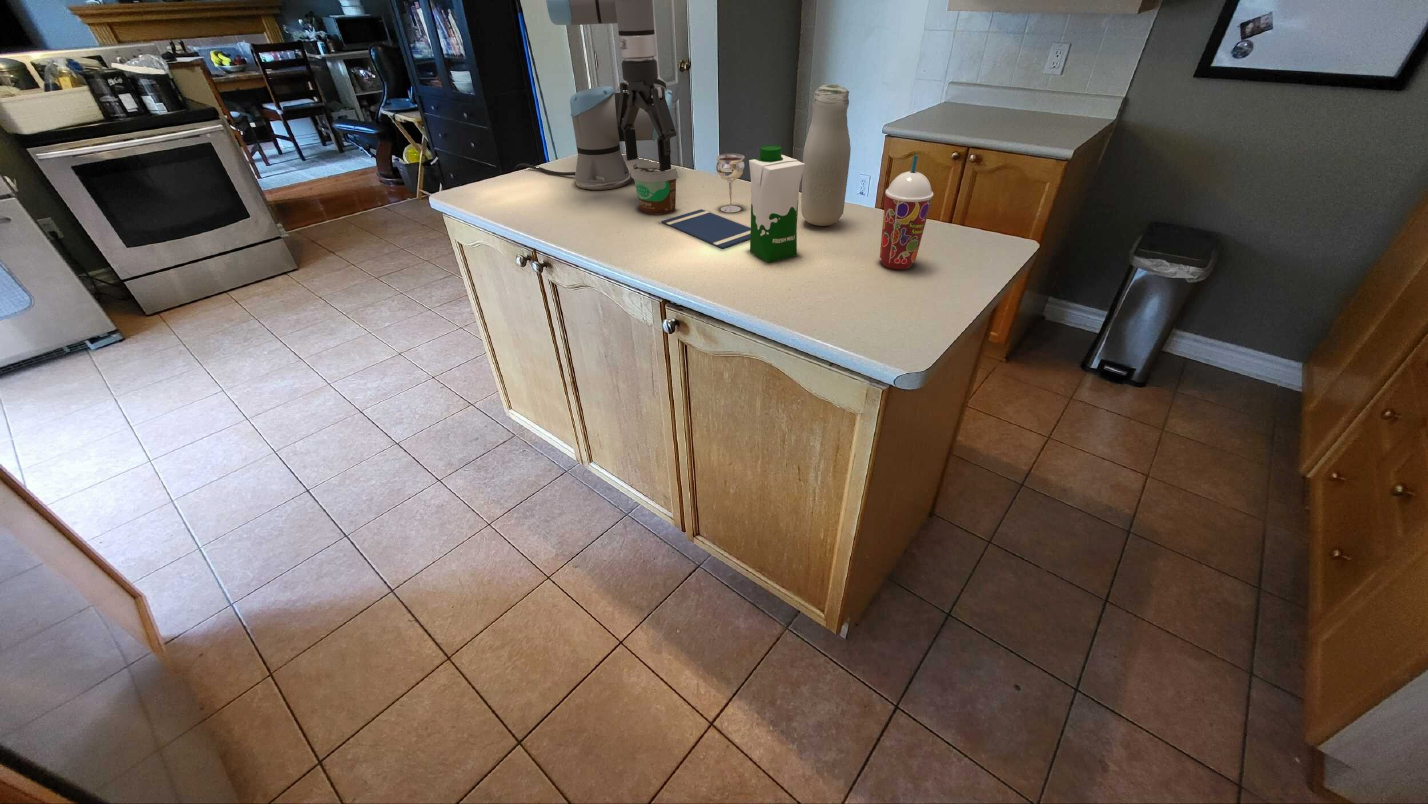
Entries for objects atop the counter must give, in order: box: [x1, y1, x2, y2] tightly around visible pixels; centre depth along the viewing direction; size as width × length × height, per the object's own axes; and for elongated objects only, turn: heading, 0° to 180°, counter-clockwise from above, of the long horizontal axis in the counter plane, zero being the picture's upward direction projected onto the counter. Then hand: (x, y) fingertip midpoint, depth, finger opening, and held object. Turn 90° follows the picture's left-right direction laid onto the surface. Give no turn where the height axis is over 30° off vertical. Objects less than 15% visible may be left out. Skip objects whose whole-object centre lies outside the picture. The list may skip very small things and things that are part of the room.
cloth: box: [661, 208, 751, 250], centre depth 129 cm, size 22×12×1 cm, turn 40°
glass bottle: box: [800, 84, 852, 227], centre depth 121 cm, size 10×10×28 cm
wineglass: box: [715, 153, 746, 213], centre depth 136 cm, size 7×7×12 cm
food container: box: [630, 163, 679, 215], centre depth 136 cm, size 12×6×10 cm, turn 62°
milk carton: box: [748, 144, 805, 264], centre depth 111 cm, size 9×9×20 cm
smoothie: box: [879, 154, 934, 270], centre depth 105 cm, size 8×8×20 cm
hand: (648, 164), depth 133 cm, fingers open, 13 cm apart
